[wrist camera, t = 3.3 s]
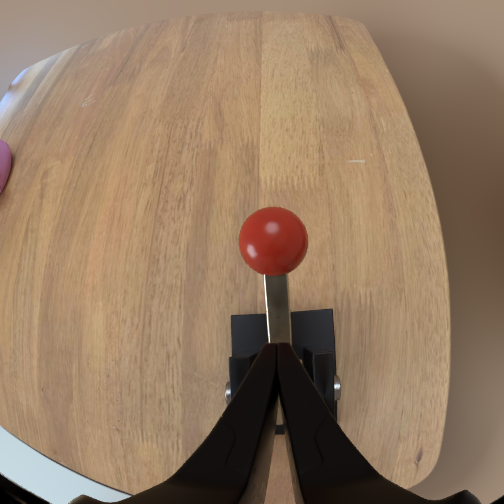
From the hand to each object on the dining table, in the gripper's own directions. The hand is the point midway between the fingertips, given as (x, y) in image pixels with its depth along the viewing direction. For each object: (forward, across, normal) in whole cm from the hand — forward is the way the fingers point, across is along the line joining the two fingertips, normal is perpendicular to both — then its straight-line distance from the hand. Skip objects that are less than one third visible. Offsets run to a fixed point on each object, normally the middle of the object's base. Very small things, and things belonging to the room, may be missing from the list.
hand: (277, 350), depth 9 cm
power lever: (+5, 0, +3) cm, 6 cm away
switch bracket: (+8, 0, +11) cm, 14 cm away
